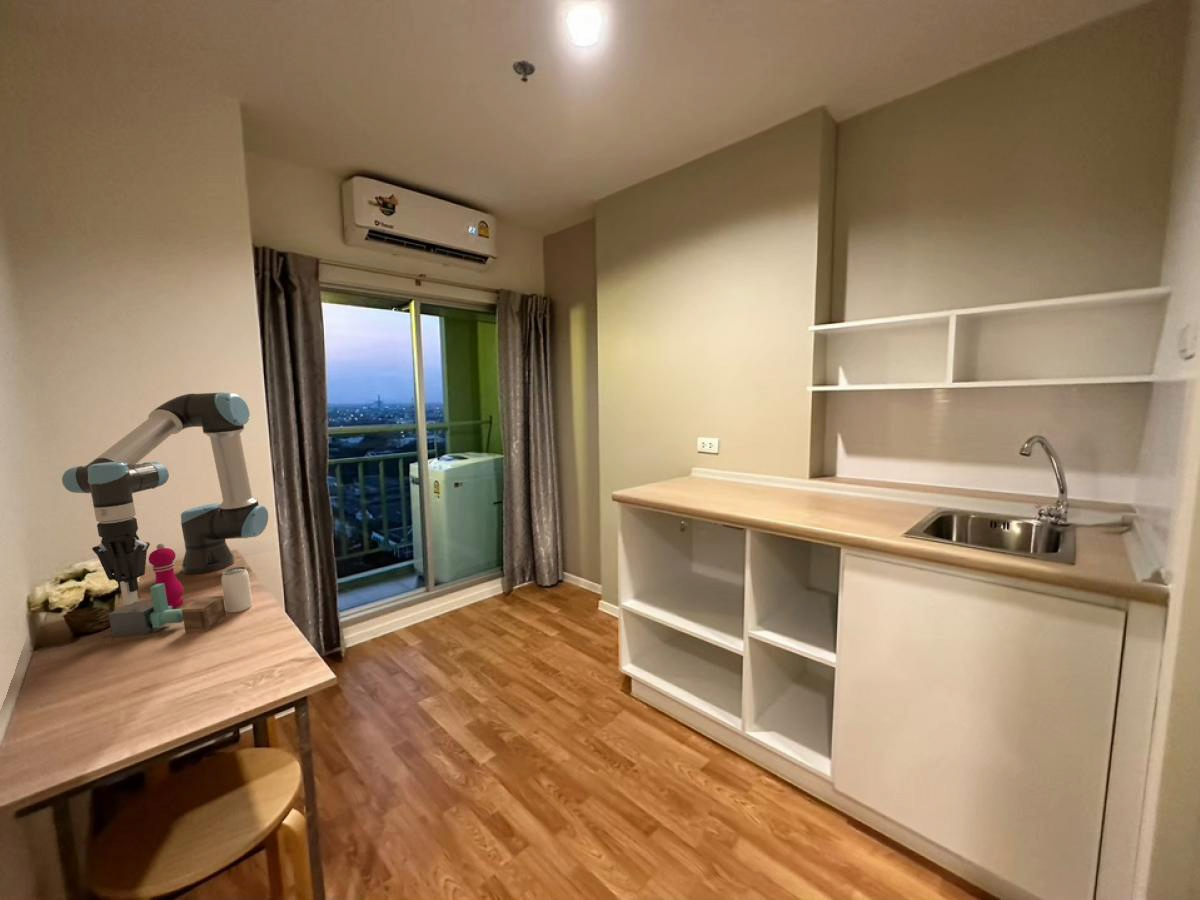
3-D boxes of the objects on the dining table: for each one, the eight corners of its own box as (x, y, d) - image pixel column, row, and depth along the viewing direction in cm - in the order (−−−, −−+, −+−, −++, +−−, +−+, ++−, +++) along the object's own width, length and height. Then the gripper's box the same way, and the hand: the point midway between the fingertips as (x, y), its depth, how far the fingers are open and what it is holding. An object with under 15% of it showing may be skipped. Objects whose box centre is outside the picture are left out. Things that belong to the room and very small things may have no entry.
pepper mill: (171, 612, 142) (160, 547, 139) (147, 612, 142) (136, 548, 139) (192, 601, 149) (182, 539, 146) (169, 601, 149) (159, 540, 146)
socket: (206, 619, 136) (203, 597, 135) (226, 618, 137) (223, 595, 136) (185, 633, 129) (181, 609, 128) (206, 631, 129) (203, 608, 128)
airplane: (113, 630, 129) (106, 591, 127) (129, 621, 133) (123, 583, 132) (175, 626, 130) (169, 588, 128) (189, 618, 134) (183, 580, 133)
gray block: (136, 623, 135) (132, 602, 134) (169, 622, 135) (165, 600, 134) (112, 636, 128) (108, 613, 127) (147, 634, 128) (143, 611, 127)
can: (258, 603, 146) (253, 566, 144) (240, 613, 139) (234, 574, 137) (238, 603, 146) (233, 566, 144) (220, 613, 140) (214, 574, 138)
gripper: (76, 524, 123) (92, 610, 126) (129, 522, 124) (144, 607, 127) (104, 516, 130) (119, 597, 134) (154, 514, 131) (167, 595, 134)
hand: (131, 602), depth 130 cm, fingers closed
